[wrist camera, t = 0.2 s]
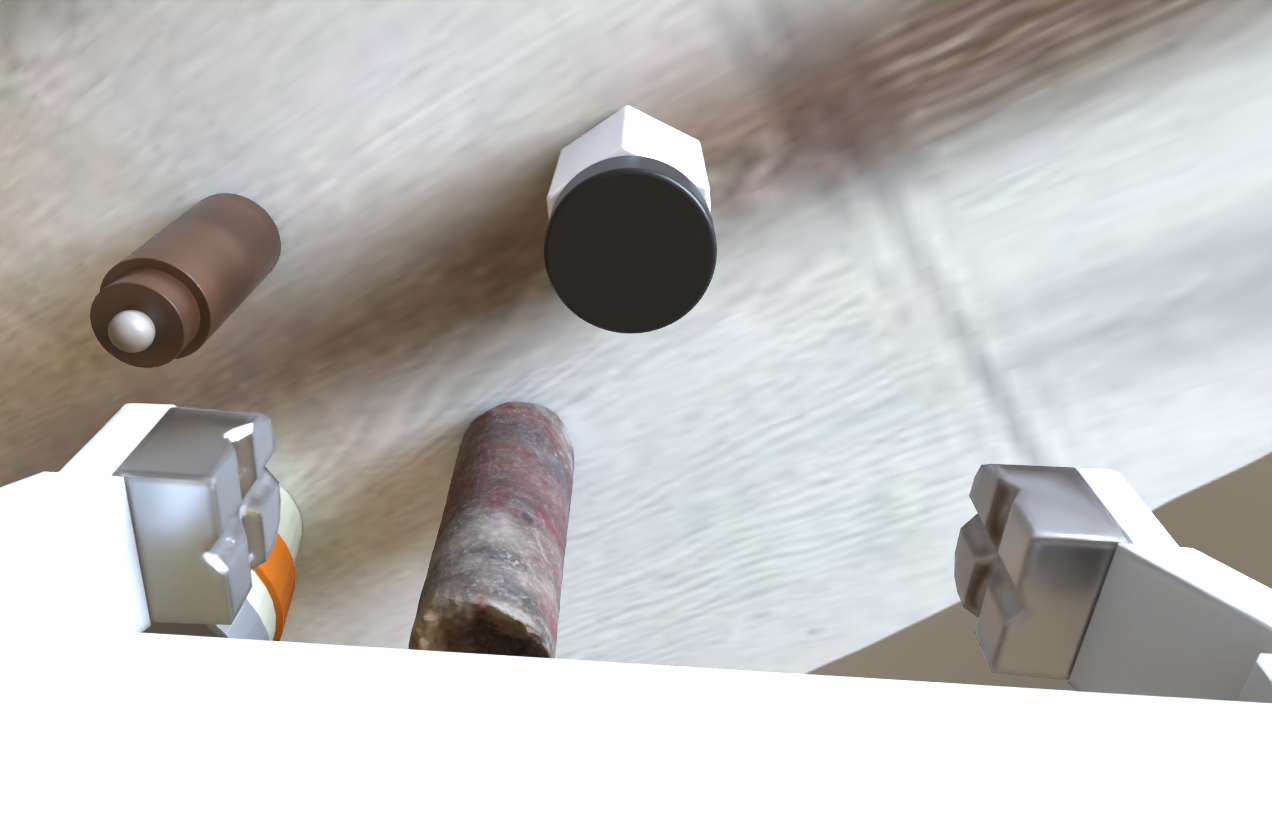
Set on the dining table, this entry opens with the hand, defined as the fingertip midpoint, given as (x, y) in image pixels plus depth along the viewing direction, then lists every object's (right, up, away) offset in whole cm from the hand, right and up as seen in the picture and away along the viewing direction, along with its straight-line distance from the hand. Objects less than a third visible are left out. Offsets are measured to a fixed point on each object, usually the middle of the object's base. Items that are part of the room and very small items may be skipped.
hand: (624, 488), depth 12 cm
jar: (0, +14, +47) cm, 49 cm away
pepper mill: (-23, +11, +48) cm, 55 cm away
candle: (-7, -2, +55) cm, 55 cm away
